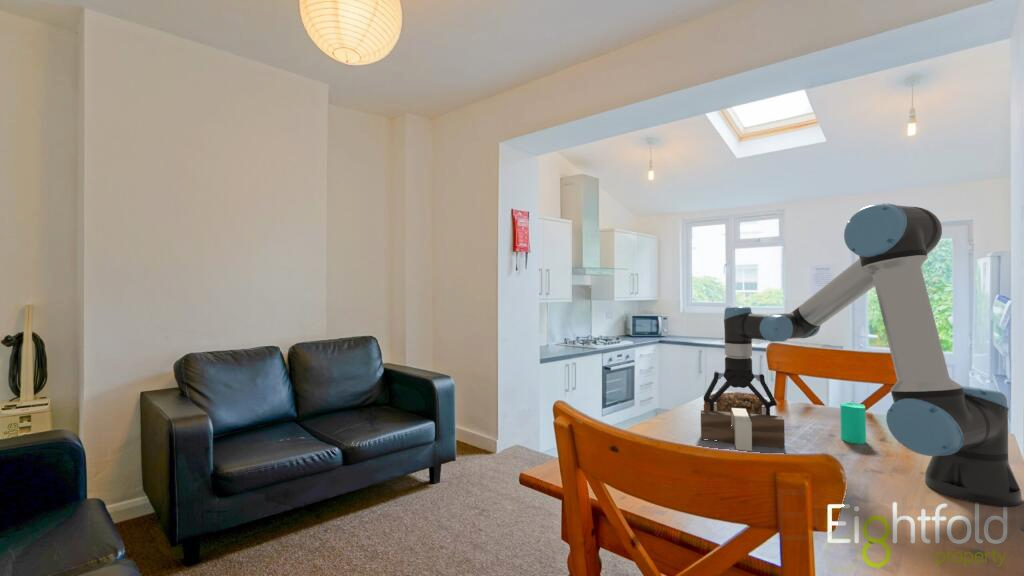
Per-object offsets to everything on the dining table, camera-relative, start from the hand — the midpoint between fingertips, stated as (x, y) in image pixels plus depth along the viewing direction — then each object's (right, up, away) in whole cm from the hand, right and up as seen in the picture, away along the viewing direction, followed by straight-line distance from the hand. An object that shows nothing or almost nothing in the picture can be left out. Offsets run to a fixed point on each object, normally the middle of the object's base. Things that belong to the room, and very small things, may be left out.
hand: (739, 426), depth 144 cm
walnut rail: (-2, -3, -5) cm, 6 cm away
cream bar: (-2, -3, -5) cm, 6 cm away
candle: (+31, -3, -5) cm, 32 cm away
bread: (+7, -4, +16) cm, 18 cm away
